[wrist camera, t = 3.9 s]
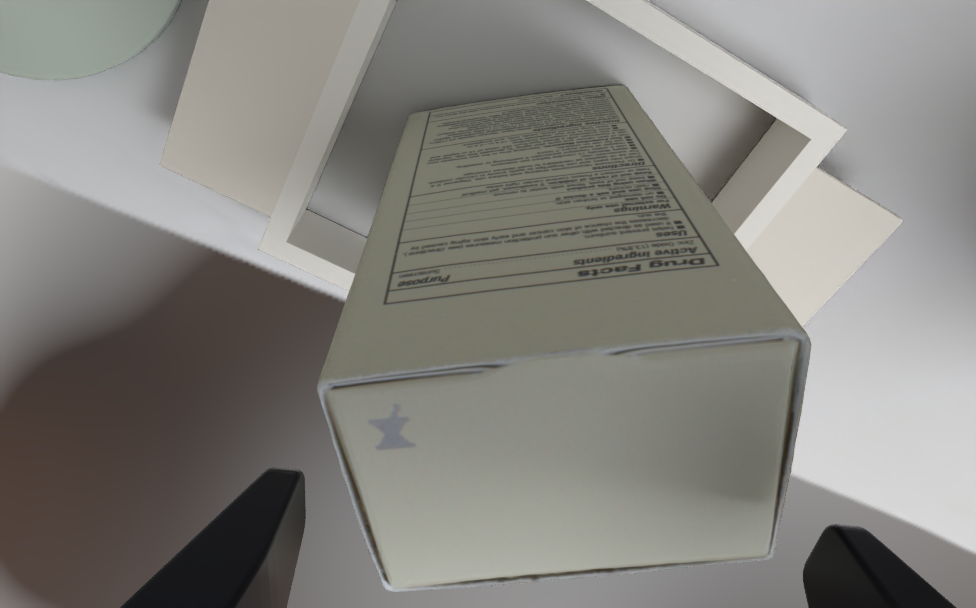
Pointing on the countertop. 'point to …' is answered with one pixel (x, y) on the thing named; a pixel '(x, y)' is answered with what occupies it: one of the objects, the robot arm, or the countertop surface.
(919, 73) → the countertop surface
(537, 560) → the skincare box
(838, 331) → the countertop surface
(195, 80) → the white rectangular tray
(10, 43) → the coaster
